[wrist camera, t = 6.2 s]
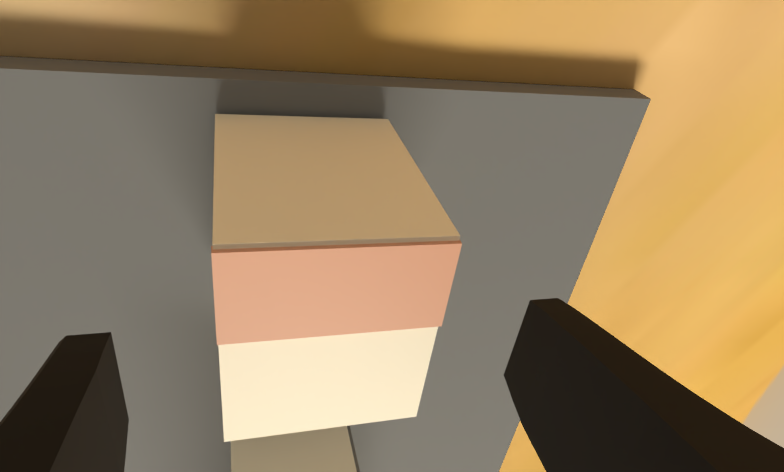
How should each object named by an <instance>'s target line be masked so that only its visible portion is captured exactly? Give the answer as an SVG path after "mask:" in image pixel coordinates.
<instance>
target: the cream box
mask: <svg viewBox="0 0 784 472" xmlns="http://www.w3.org/2000/svg"><path fill="white" fill-rule="evenodd" d="M231 472H360V470H359V465H358V461H357V456H356V452H355V447H354V443H353V438H352V434H351V429H350V425H349V426H341V427H334V428H326V429H318V430H311V431H303V432H296V433H288V434H281V435H273V436H265V437H258V438H250V439H243V440H235V441H231Z"/></svg>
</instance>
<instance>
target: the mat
mask: <svg viewBox="0 0 784 472" xmlns="http://www.w3.org/2000/svg"><path fill="white" fill-rule="evenodd" d="M650 100H651V99H650V98H648V97H646V96H645V95H643V94H641V93H640V92H638V91H636V90H634V89H616V88H597V87H578V86H559V85H540V84H521V83H502V82H483V81H464V80H445V79H426V78H407V77H388V76H369V75H350V74H331V73H312V72H293V71H274V70H255V69H236V68H217V67H198V66H179V65H160V64H141V63H122V62H103V61H84V60H65V59H46V58H27V57H8V56H0V422H1V420H2V419H3V418H4V416H5V415H6V414H7V412H8V411H9V410H10V409H11V407H12V406H13V405H14V403H15V402H16V401H17V399H18V398H19V397H20V395H21V394H22V393H23V391H24V390H25V389H26V387H27V386H28V385H29V383H30V382H31V381H32V379H33V378H34V376H35V375H36V374H37V372H38V371H39V370H40V368H41V367H42V365H43V364H44V363H45V361H46V360H47V358H48V357H49V356H50V354H51V353H52V351H53V350H54V348H55V347H56V346H57V344H58V343H59V341H61V340H62V339H63V338H64V337H65V336H67V335H80V334H93V333H106V332H111V334H112V339H113V344H114V349H115V354H116V359H117V364H118V369H119V373H120V378H121V383H122V388H123V393H124V398H125V403H126V408H127V413H128V418H129V424H128V435H127V447H126V458H125V468H124V472H231V441H227V442H224V433H223V416H222V399H221V382H220V365H219V348H218V345H217V339H216V323H215V307H214V290H213V274H212V258H211V246H212V237H213V188H214V139H215V114H237V115H270V116H304V117H338V118H371V119H388V120H389V121H390V123H391V125H392V126H393V128H394V129H395V131H396V133H397V134H398V136H399V138H400V139H401V141H402V142H403V144H404V146H405V147H406V149H407V150H408V152H409V154H410V155H411V157H412V159H413V160H414V162H415V163H416V165H417V167H418V168H419V170H420V171H421V173H422V175H423V176H424V178H425V180H426V181H427V183H428V184H429V186H430V188H431V189H432V191H433V192H434V194H435V196H436V197H437V199H438V201H439V202H440V204H441V205H442V207H443V209H444V210H445V212H446V213H447V215H448V217H449V218H450V220H451V222H452V223H453V225H454V226H455V228H456V230H457V231H458V233H459V234H460V241H461V242H462V246H461V250H460V254H459V259H458V263H457V267H456V271H455V275H454V279H453V283H452V287H451V291H450V295H449V299H448V303H447V307H446V311H445V315H444V319H443V323H442V326H439V327H438V330H437V334H436V338H435V342H434V346H433V350H432V354H431V358H430V362H429V366H428V371H427V375H426V379H425V383H424V387H423V391H422V395H421V399H420V403H419V407H418V412H417V416H416V417H410V418H402V419H394V420H387V421H379V422H372V423H364V424H356V425H350V429H351V434H352V438H353V443H354V447H355V452H356V456H357V461H358V465H359V470H360V472H499V470H500V468H501V465H502V463H503V460H504V458H505V455H506V453H507V450H508V448H509V445H510V443H511V441H512V438H513V436H514V433H515V431H516V428H517V426H518V423H519V421H520V418H519V416H518V413H517V410H516V408H515V405H514V403H513V400H512V397H511V394H510V392H509V389H508V386H507V383H506V380H505V377H504V372H505V369H506V367H507V364H508V361H509V358H510V355H511V352H512V350H513V347H514V344H515V341H516V338H517V335H518V333H519V330H520V327H521V324H522V321H523V318H524V315H525V313H526V310H527V307H528V304H529V301H530V300H537V299H550V298H559V299H561V300H562V301H564V302H565V303H568V301H569V298H570V296H571V293H572V291H573V289H574V286H575V284H576V281H577V279H578V276H579V274H580V271H581V269H582V267H583V264H584V262H585V259H586V257H587V254H588V252H589V249H590V247H591V244H592V242H593V240H594V237H595V235H596V232H597V230H598V227H599V225H600V222H601V220H602V218H603V215H604V213H605V210H606V208H607V205H608V203H609V200H610V198H611V195H612V193H613V191H614V188H615V186H616V183H617V181H618V178H619V176H620V173H621V171H622V168H623V166H624V164H625V161H626V159H627V156H628V154H629V151H630V149H631V146H632V144H633V142H634V139H635V137H636V134H637V132H638V129H639V127H640V124H641V122H642V119H643V117H644V115H645V112H646V110H647V107H648V105H649V102H650Z"/></svg>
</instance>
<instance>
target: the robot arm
mask: <svg viewBox="0 0 784 472" xmlns="http://www.w3.org/2000/svg"><path fill="white" fill-rule="evenodd" d="M504 377H505V380H506V383H507V386H508V389H509V392H510V394H511V397H512V400H513V403H514V405H515V408H516V410H517V413H518V416H519V418H520V421H521V423H522V425H523V427H524V429H525V431H526V433H527V435H528V437H529V439H530V441H531V443H532V445H533V447H534V449H535V451H536V453H537V455H538V457H539V458H540V460H541V462H542V464H543V466H544V468H545V470H546V472H784V448H782V447H780V446H779V445H777V444H775V443H774V442H772V441H770V440H768V439H767V438H765V437H763V436H762V435H760V434H758V433H756V432H755V431H753V430H751V429H749V428H748V427H746V426H745V425H743V424H742V423H740V422H738V421H737V420H735V419H733V418H732V417H730V416H729V415H727V414H726V413H724V412H723V411H721V410H719V409H718V408H716V407H715V406H713V405H712V404H710V403H709V402H707V401H706V400H704V399H702V398H701V397H699V396H698V395H696V394H695V393H693V392H692V391H690V390H689V389H687V388H686V387H684V386H683V385H681V384H680V383H679V382H677V381H676V380H674V379H673V378H671V377H670V376H668V375H667V374H666V373H664V372H663V371H661V370H660V369H658V368H657V367H656V366H654V365H653V364H651V363H650V362H648V361H647V360H646V359H644V358H643V357H641V356H640V355H639V354H637V353H636V352H634V351H633V350H632V349H630V348H629V347H628V346H626V345H625V344H623V343H622V342H621V341H619V340H618V339H616V338H615V337H614V336H612V335H611V334H610V333H608V332H607V331H605V330H604V329H603V328H601V327H600V326H599V325H597V324H596V323H594V322H593V321H591V320H590V319H589V318H587V317H586V316H584V315H583V314H582V313H580V312H579V311H577V310H576V309H574V308H573V307H571V306H570V305H568V304H567V303H565V302H564V301H562V300H561V299H559V298H550V299H537V300H530V301H529V304H528V307H527V310H526V313H525V315H524V318H523V321H522V324H521V327H520V330H519V333H518V335H517V338H516V341H515V344H514V347H513V350H512V352H511V355H510V358H509V361H508V364H507V367H506V369H505V372H504ZM128 424H129V418H128V413H127V408H126V403H125V398H124V393H123V388H122V383H121V378H120V373H119V369H118V364H117V359H116V354H115V349H114V344H113V339H112V334H111V332H106V333H93V334H80V335H67V336H65V337H64V338H63V339H62V340H61V341H59V343H58V344H57V346H56V347H55V348H54V350H53V351H52V353H51V354H50V356H49V357H48V358H47V360H46V361H45V363H44V364H43V365H42V367H41V368H40V370H39V371H38V372H37V374H36V375H35V376H34V378H33V379H32V381H31V382H30V383H29V385H28V386H27V387H26V389H25V390H24V391H23V393H22V394H21V395H20V397H19V398H18V399H17V401H16V402H15V403H14V405H13V406H12V407H11V409H10V410H9V411H8V412H7V414H6V415H5V416H4V418H3V419H2V420H1V422H0V472H124V468H125V458H126V447H127V435H128Z"/></svg>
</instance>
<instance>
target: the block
mask: <svg viewBox="0 0 784 472" xmlns="http://www.w3.org/2000/svg"><path fill="white" fill-rule="evenodd" d="M461 246H462V242H461V241H460V234H459V233H458V231H457V230H456V228H455V226H454V225H453V223H452V222H451V220H450V218H449V217H448V215H447V213H446V212H445V210H444V209H443V207H442V205H441V204H440V202H439V201H438V199H437V197H436V196H435V194H434V192H433V191H432V189H431V188H430V186H429V184H428V183H427V181H426V180H425V178H424V176H423V175H422V173H421V171H420V170H419V168H418V167H417V165H416V163H415V162H414V160H413V159H412V157H411V155H410V154H409V152H408V150H407V149H406V147H405V146H404V144H403V142H402V141H401V139H400V138H399V136H398V134H397V133H396V131H395V129H394V128H393V126H392V125H391V123H390V121H389V120H388V119H371V118H338V117H304V116H270V115H237V114H215V139H214V188H213V237H212V246H211V258H212V274H213V290H214V307H215V323H216V339H217V345H218V348H219V365H220V382H221V399H222V416H223V433H224V442H227V441H235V440H243V439H250V438H258V437H265V436H273V435H281V434H288V433H296V432H303V431H311V430H318V429H326V428H334V427H341V426H349V425H356V424H364V423H372V422H379V421H387V420H394V419H402V418H410V417H416V416H417V412H418V407H419V403H420V399H421V395H422V391H423V387H424V383H425V379H426V375H427V371H428V366H429V362H430V358H431V354H432V350H433V346H434V342H435V338H436V334H437V330H438V327H439V326H442V323H443V319H444V315H445V311H446V307H447V303H448V299H449V295H450V291H451V287H452V283H453V279H454V275H455V271H456V267H457V263H458V259H459V254H460V250H461Z"/></svg>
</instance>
